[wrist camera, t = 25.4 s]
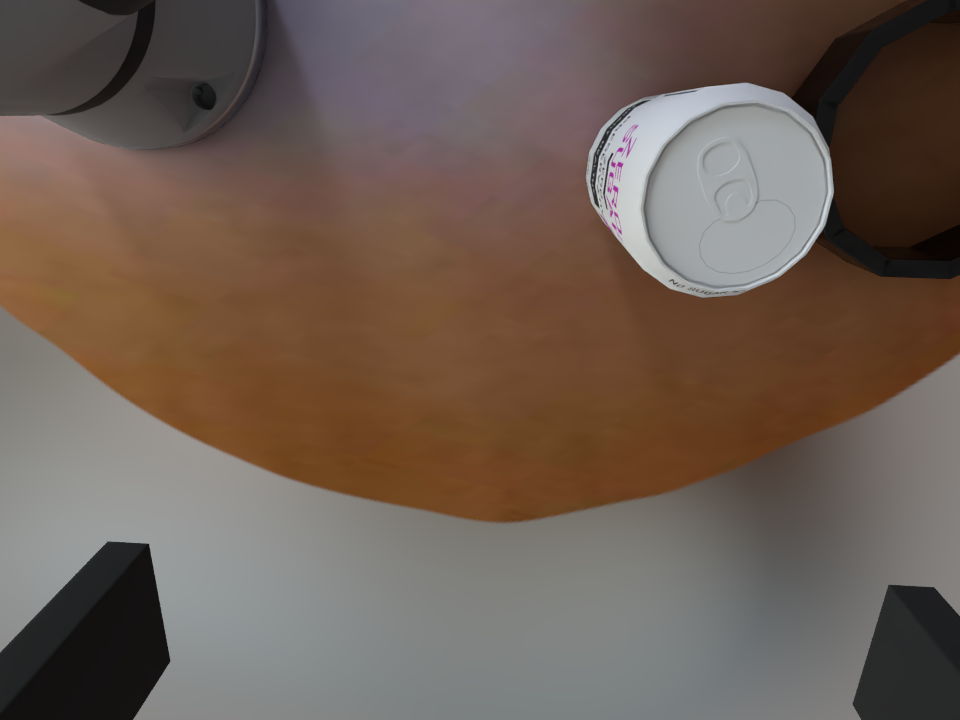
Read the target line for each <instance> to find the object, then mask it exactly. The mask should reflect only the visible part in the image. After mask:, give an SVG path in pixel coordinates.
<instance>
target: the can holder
mask: <svg viewBox="0 0 960 720" xmlns="http://www.w3.org/2000/svg"><path fill="white" fill-rule="evenodd" d="M928 23H960V0H908V1H905V2H903V3H901V4H899V5H897V6H895V7H894V8H892V9H890V10H888V11H886V12H884V13H883V14H881V15H879V16H877V17H875V18H873V19H871V20H870V21H868V22H866V23H864V24H862V25H860V26H858V27H857V28H855V29H853V30H851V31H849V32H847V33H845V34H844V35H842V36H840V37H838V38H836V39H835V40H834V42H833V43H832V44H831V46H830V47H829V48H828V50H827V51H826V53H825V54H824V55H823V57H822V58H821V59H820V61H819V62H818V63H817V65H816V66H815V67H814V69H813V70H812V72H811V73H810V74H809V76H808V77H807V78H806V80H805V81H804V82H803V84H802V85H801V87H800V88H799V89H798V91H797V92H796V93H795V95H794V96H793V97H792V100H793V101H794V102H796V103H797V104H798V105H799V106H800V107H802V108H803V109H804V110H805V111H807V112H808V113H809V114H810V115H811V116H813V118H814V120H815V122H816V124H817V126H818V128H819V130H820V132H821V134H822V136H823V138H824V140H825V142H826V143H827V145H828V147H830V142H831V137H832V132H833V128H834V123H835V118H836V113H837V108H838V105H839V104H840V103H841V101H842V100H843V99H844V98H845V96H846V95H847V94H848V92H849V91H850V90H851V88H852V87H853V86H854V84H855V83H856V82H857V81H858V79H859V78H860V77H861V75H862V74H863V73H864V71H865V70H866V69H867V67H868V66H869V65H870V63H871V62H872V61H873V60H874V58H875V57H876V56H877V54H878V53H879V52H880V50H881V49H882V48H883V47H884V46H886V45H888V44H890V43H892V42H894V41H895V40H897V39H899V38H901V37H903V36H905V35H907V34H909V33H911V32H912V31H914V30H916V29H918V28H920V27H922V26H924V25H926V24H928ZM815 241H816V242H818V243H819V244H821V245H822V246H824V247H825V248H827V249H828V250H830V251H831V252H833V253H834V254H836V255H837V256H838V257H840V258H841V259H843V260H844V261H846V262H848V263H850V264H853V265H855V266H857V267H860V268H862V269H864V270H867V271H869V272H871V273H874V274H876V275H878V276H881V277H909V278H936V279H951V278H954V277H956V276H958V275H960V225H957V226H955V227H953V228H951V229H949V230H947V231H944V232H942V233H940V234H938V235H936V236H934V237H931V238H929V239H927V240H925V241H923V242H921V243H918V244H916V245H914V246H912V247H910V248H906V247H877V246H870V245H869V244H867V243H866V242H864V241H863V240H861V239H860V238H859V237H857V236H856V235H854V234H853V233H851V232H850V231H848V230H847V229H846V228H844V226H843V224H842V221H841V218H840V215H839V212H838V210H837V207H836V204H835V201H834V198H832V201H831V205H830V209H829V213H828V217H827V220H826V224H825V226H824V228H823V230H822V231H821V233H820V234H819V236H818V237H817V239H816V240H815Z"/></svg>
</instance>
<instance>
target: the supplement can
mask: <svg viewBox="0 0 960 720" xmlns="http://www.w3.org/2000/svg"><path fill="white" fill-rule="evenodd" d="M586 181H587V186H588V191H589V195H590V200H591V203H592V205H593V206H594V208H595V209H596V211H597V213H598V214H599V216H600V217H601V219H602V220H603V222H604V223H605V224H606V226H607V227H608V228H609V229H610V230H611V232H612V233H613V234H614V235H615V236H616V238H617V239H618V240H619V241H620V242H621V244H622V245H623V246H624V247H625V248H626V250H627V251H628V252H629V253H630V254H631V256H632V257H633V258H634V259H635V260H636V262H637V263H638V264H639V265H640V266H641V268H642V269H643V270H645V271H646V272H647V273H649V274H650V275H652V276H653V277H654V278H656V279H657V280H659V281H660V282H661V283H663V284H664V285H665V286H667V287H668V288H670V289H673V290H676V291H680V292H684V293H687V294H691V295H695V296H699V297H702V298H705V297H717V296H730V295H739V294H742V293H744V292H746V291H749V290H751V289H754V288H756V287H758V286H761V285H763V284H766V283H768V282H770V281H773V280H774V279H776V278H778V277H780V276H781V275H782V274H784V273H785V272H786V271H787V270H788V269H790V268H791V267H792V266H793V265H794V264H796V263H797V262H798V261H799V260H800V259H802V258H803V257H804V256H805V255H806V254H807V253H808V251H809V250H810V248H811V246H812V245H813V243H814V242H815V240H816V239H817V237H818V236H819V234H820V233H821V231H822V230H823V228H824V226H825V224H826V220H827V217H828V213H829V209H830V205H831V201H832V198H833V194H834V187H833V176H832V165H831V158H830V151H829V147H828V145H827V143H826V142H825V140H824V138H823V136H822V134H821V132H820V130H819V128H818V126H817V124H816V122H815V120H814V118H813V116H811V115H810V114H809V113H808V112H807V111H805V110H804V109H803V108H802V107H800V106H799V105H798V104H797V103H796V102H794V101H793V100H792V99H791V98H789V97H788V96H787V95H786V94H784V93H782V92H779V91H775V90H771V89H768V88H764V87H761V86H757V85H754V84H750V83H739V84H729V85H720V86H710V87H703V88H697V89H691V90H685V91H679V92H673V93H667V94H661V95H655V96H649V97H644V98H642V99H640V100H638V101H636V102H634V103H632V104H630V105H628V106H626V107H624V108H622V109H620V110H619V111H618V112H617V113H616V114H615V115H614V116H613V117H612V118H611V119H610V120H609V121H608V122H607V123H606V124H605V125H604V126H603V127H602V128H601V130H600V132H599V134H598V136H597V138H596V140H595V142H594V144H593V146H592V148H591V150H590V152H589V158H588V165H587V173H586Z"/></svg>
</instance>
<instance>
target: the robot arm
mask: <svg viewBox="0 0 960 720" xmlns="http://www.w3.org/2000/svg"><path fill="white" fill-rule="evenodd" d="M266 28H267V18H266V3H265V0H0V116H27V115H31V116H33V115H41V116H43V117H45V118H47V119H49V120H51V121H53V122H55V123H57V124H59V125H61V126H63V127H65V128H67V129H69V130H71V131H73V132H75V133H77V134H79V135H81V136H83V137H86V138H88V139H91V140H94V141H97V142H100V143H103V144H108V145H111V146H115V147H120V148H126V149H136V150H153V149H165V148H173V147H179V146H183V145H187V144H190V143H193V142H195V141H198V140H200V139H202V138H204V137H206V136H208V135H210V134H211V133H213V132H214V131H216V130H217V129H219V128H220V127H221V126H223V125H224V124H225V123H226V122H227V121H228V120H229V119H230V118H231V117H232V116H233V115H234V114H235V113H236V112H237V111H238V109H239V108H240V107H241V105H242V104H243V103H244V101H245V100H246V98H247V96H248V95H249V93H250V91H251V89H252V87H253V85H254V83H255V81H256V78H257V75H258V73H259V70H260V67H261V63H262V59H263V54H264V49H265V42H266ZM169 663H170V657H169V651H168V646H167V640H166V635H165V630H164V624H163V619H162V613H161V607H160V602H159V597H158V591H157V586H156V580H155V575H154V570H153V564H152V558H151V553H150V548H149V544H141V543H125V542H107V543H106V544H105V545H104V546H103V547H102V548H101V549H100V550H99V551H98V552H97V553H96V554H95V555H94V556H93V557H92V558H91V559H90V561H88V562H87V564H86V565H85V566H84V567H83V568H82V569H81V570H80V571H79V572H78V573H77V574H76V575H75V576H74V577H73V578H72V579H71V580H70V581H69V582H68V583H67V584H66V585H65V586H64V587H63V588H62V589H61V590H60V591H59V592H58V594H56V595H55V597H54V598H53V599H52V600H51V601H50V602H49V603H48V604H47V605H46V606H45V607H44V608H43V609H42V610H41V611H40V612H39V613H38V614H37V615H36V616H35V617H34V618H33V619H32V620H31V621H30V622H29V623H28V624H27V625H26V626H25V628H24V629H23V630H22V631H21V632H20V633H19V634H18V635H17V636H16V637H15V638H14V639H13V640H12V641H11V642H10V643H9V644H8V645H7V646H6V647H5V648H4V649H3V650H2V651H1V652H0V720H133V719H134V717H135V716H136V714H137V713H138V711H139V709H140V708H141V706H142V705H143V703H144V702H145V700H146V698H147V697H148V695H149V694H150V692H151V690H152V689H153V687H154V686H155V684H156V683H157V681H158V680H159V678H160V677H161V675H162V673H163V672H164V670H165V669H166V667H167V666H168V664H169ZM853 706H854V707H855V709H856V711H857V713H858V714H859V716H860V718H861V720H960V616H959V615H958V614H957V613H956V612H955V610H954V609H953V608H952V607H951V606H950V605H949V604H948V603H947V601H946V600H945V599H944V598H943V597H942V596H941V595H940V594H939V592H938V591H937V590H936V589H935V588H934V587H917V586H900V585H889V586H888V589H887V592H886V595H885V599H884V602H883V606H882V609H881V612H880V615H879V618H878V622H877V625H876V628H875V632H874V635H873V638H872V642H871V645H870V648H869V652H868V655H867V658H866V661H865V665H864V668H863V672H862V675H861V678H860V681H859V685H858V688H857V692H856V695H855V698H854V701H853Z"/></svg>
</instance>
